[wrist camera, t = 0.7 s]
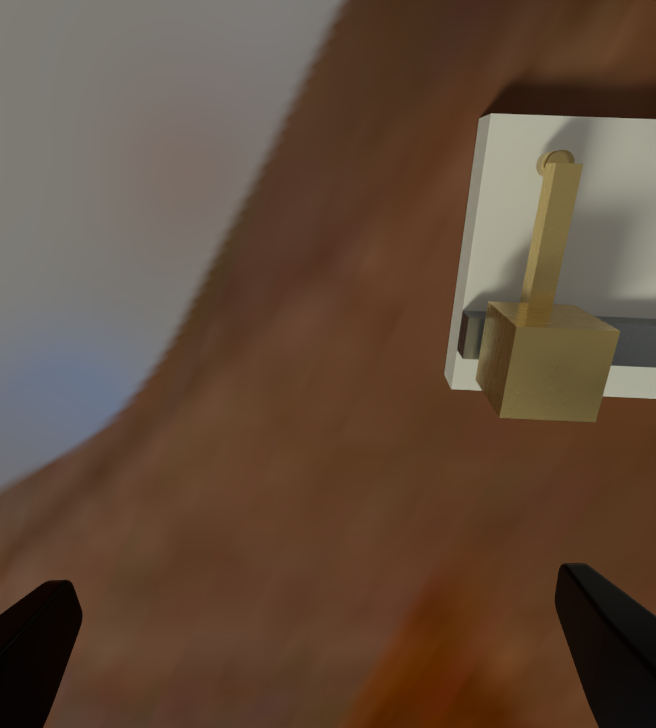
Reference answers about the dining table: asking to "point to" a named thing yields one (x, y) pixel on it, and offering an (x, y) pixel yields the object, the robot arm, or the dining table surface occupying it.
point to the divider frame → (637, 335)
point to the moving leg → (546, 323)
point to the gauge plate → (586, 233)
